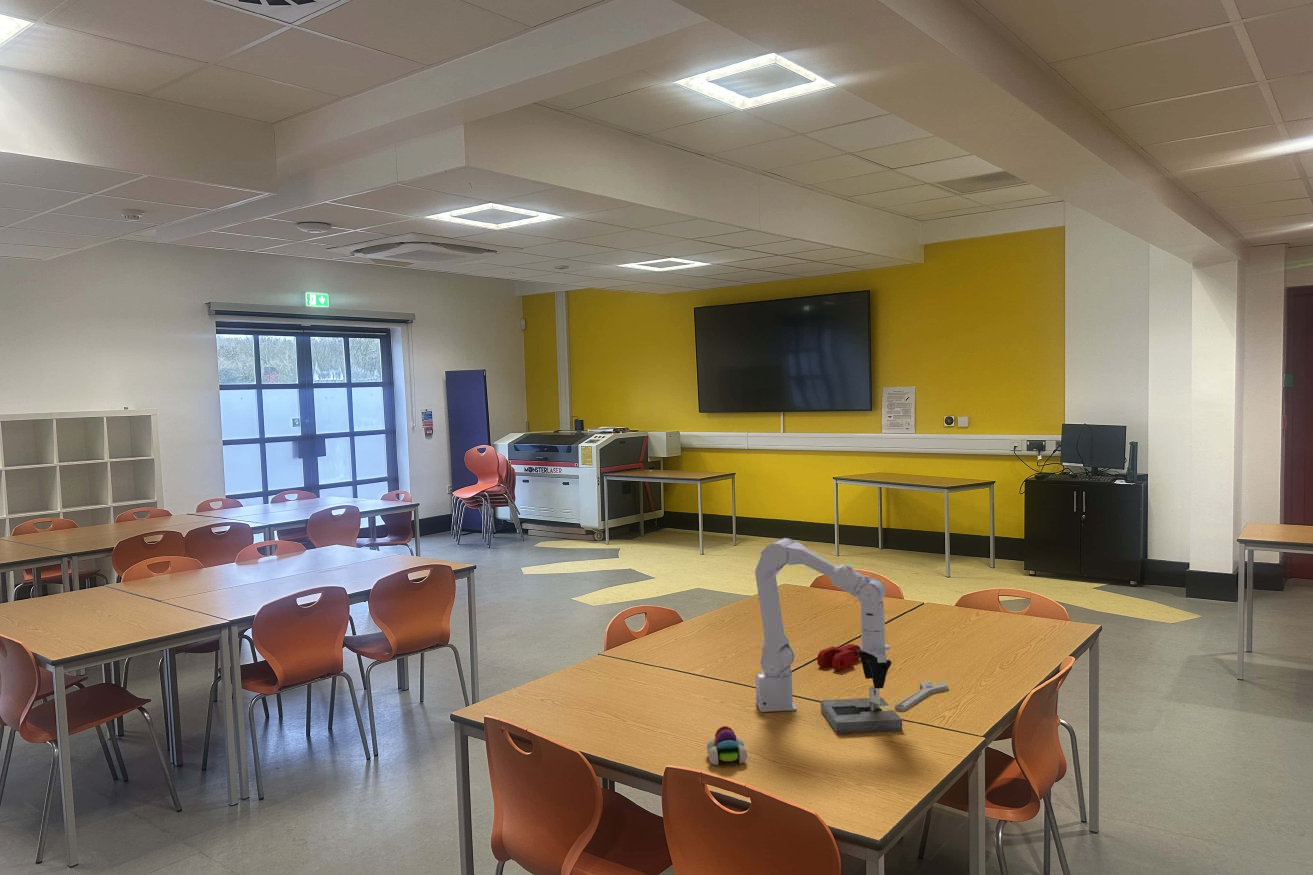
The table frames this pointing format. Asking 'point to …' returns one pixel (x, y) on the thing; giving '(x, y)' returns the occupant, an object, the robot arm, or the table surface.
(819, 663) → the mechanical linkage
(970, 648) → the table surface
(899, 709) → the adjustable wrench
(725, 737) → the colorful toy go-kart
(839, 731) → the keyhole plate
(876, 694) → the steel peg
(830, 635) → the table surface
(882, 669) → the robot arm
